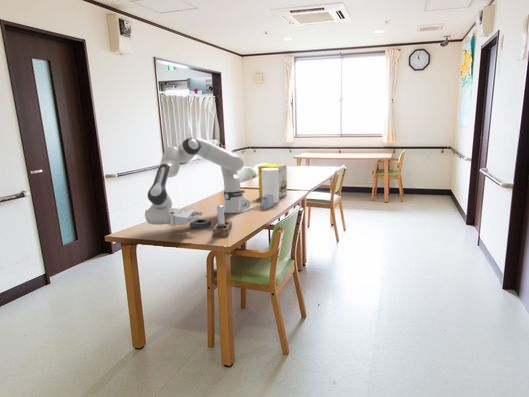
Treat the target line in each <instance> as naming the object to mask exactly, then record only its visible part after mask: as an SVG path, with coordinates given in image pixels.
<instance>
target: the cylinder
mask: <svg viewBox="0 0 529 397" xmlns="http://www.w3.org/2000/svg"><path fill="white" fill-rule="evenodd" d="M265 195H273V203H276V204H279V203H280V198H279V171H278V168H264V169H262V196H265ZM278 202H279V203H278Z"/></svg>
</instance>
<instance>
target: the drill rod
mask: <svg viewBox="0 0 529 397" xmlns="http://www.w3.org/2000/svg"><path fill="white" fill-rule="evenodd" d="M216 210H217V222H218V229H221V228H225V222H226V221H225V212H224V204H219V205H216Z"/></svg>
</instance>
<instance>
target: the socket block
mask: <svg viewBox="0 0 529 397" xmlns="http://www.w3.org/2000/svg"><path fill="white" fill-rule="evenodd" d="M212 224H213V222H212V219H206V218H205V219H204V218H199V219H198V220H194V221H189V228H193V229H201V230H204V229H206V228H208V227H210V226H212Z"/></svg>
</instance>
